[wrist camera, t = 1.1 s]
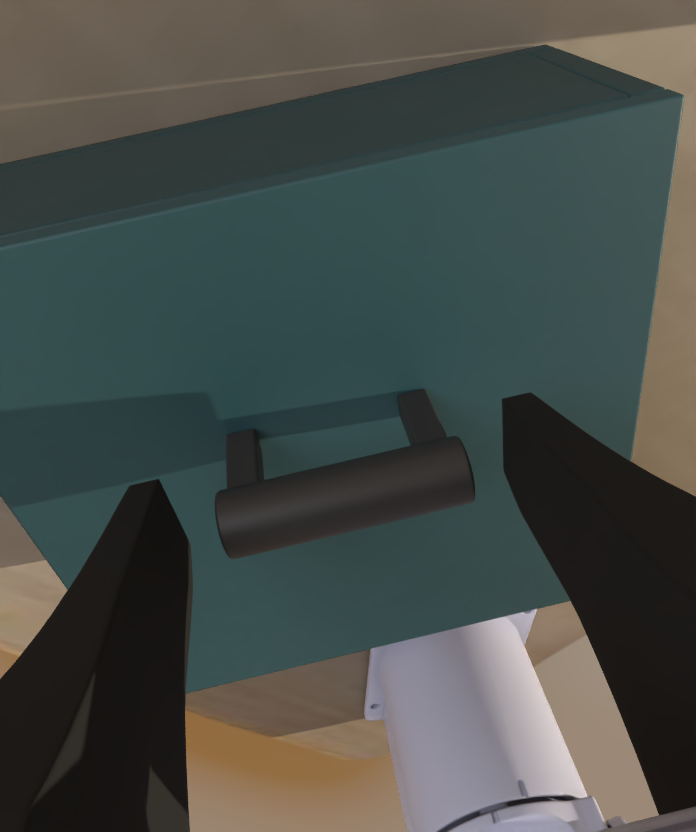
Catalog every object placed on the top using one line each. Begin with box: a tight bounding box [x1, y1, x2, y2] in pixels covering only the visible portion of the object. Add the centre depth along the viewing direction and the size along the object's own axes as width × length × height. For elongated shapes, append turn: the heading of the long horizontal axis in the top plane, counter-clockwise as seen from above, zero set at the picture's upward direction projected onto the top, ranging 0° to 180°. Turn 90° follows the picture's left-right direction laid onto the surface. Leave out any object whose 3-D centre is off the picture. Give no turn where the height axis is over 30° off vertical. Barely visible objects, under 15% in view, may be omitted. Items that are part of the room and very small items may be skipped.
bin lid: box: [0, 89, 684, 693], centre depth 15 cm, size 15×15×4 cm
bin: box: [0, 45, 665, 238], centre depth 19 cm, size 14×15×6 cm
